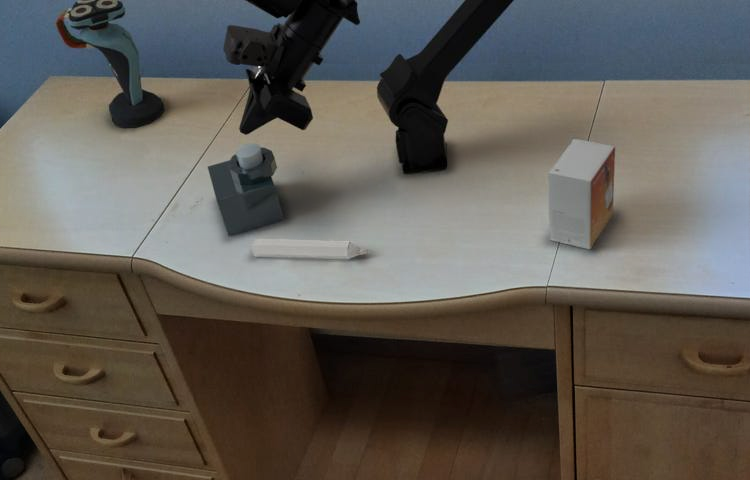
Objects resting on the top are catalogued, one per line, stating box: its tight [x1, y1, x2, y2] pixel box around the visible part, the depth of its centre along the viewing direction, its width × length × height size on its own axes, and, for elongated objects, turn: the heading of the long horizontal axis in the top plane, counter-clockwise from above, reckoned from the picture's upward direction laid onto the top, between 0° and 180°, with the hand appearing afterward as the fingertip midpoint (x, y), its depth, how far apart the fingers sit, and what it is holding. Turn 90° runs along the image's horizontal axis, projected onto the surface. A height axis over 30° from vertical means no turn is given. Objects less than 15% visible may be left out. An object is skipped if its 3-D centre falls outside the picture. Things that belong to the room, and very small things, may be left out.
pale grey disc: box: [235, 142, 264, 169], centre depth 126 cm, size 3×3×2 cm
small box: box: [547, 138, 616, 250], centre depth 115 cm, size 8×6×10 cm
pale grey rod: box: [251, 238, 371, 260], centre depth 122 cm, size 3×2×16 cm
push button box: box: [207, 146, 285, 237], centre depth 129 cm, size 9×9×8 cm
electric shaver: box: [55, 0, 166, 129], centre depth 150 cm, size 9×12×20 cm
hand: (242, 132), depth 124 cm, fingers closed
